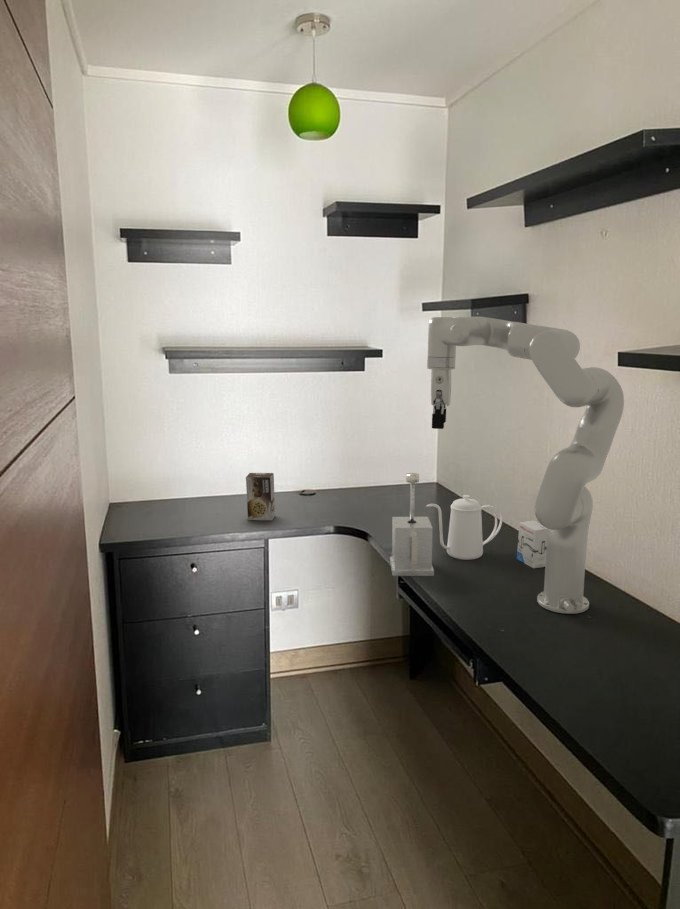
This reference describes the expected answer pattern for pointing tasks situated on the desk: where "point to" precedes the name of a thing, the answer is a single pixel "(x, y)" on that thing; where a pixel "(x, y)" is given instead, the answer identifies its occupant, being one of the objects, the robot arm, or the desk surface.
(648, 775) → the desk surface
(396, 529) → the grey cube on plinth
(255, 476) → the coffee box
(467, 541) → the coffeepot
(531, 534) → the ink box
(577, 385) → the robot arm
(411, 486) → the plunger
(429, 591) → the desk surface
